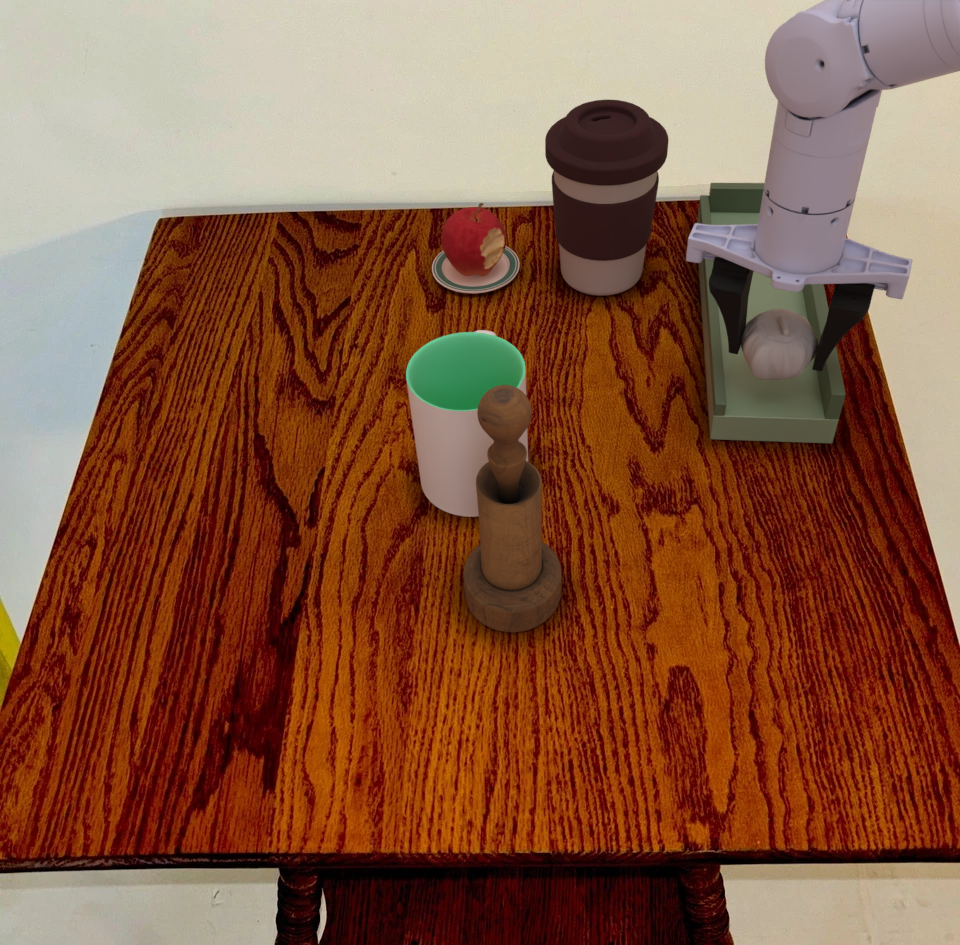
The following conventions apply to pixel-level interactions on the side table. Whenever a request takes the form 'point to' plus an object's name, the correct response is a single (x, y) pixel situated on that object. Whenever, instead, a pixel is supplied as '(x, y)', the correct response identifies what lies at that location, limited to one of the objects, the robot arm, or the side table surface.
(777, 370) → the garlic
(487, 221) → the apple
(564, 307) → the side table surface
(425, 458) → the mug
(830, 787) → the side table surface
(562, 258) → the coffee cup
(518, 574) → the mortar and pestle
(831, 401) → the tray
